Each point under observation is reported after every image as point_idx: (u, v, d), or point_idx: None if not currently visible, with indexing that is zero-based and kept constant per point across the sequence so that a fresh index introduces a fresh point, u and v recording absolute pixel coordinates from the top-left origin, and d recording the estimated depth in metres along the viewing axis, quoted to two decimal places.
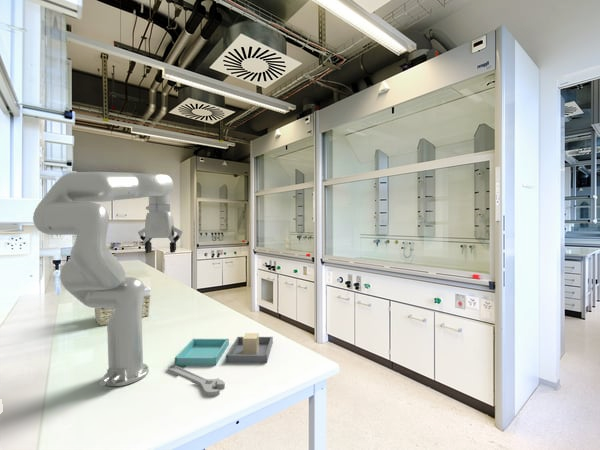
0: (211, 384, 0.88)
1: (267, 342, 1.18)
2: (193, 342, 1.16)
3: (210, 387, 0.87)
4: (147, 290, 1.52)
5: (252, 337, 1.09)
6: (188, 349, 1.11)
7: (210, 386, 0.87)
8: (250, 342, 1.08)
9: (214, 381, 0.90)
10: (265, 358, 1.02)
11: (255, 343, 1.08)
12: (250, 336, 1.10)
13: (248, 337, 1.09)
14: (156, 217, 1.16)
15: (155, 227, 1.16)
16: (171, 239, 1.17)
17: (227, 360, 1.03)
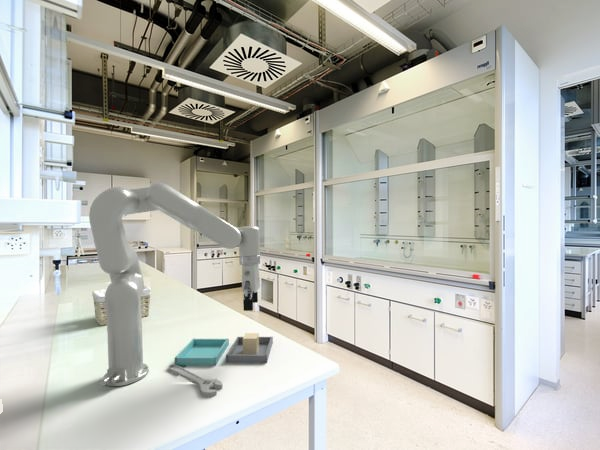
0: (209, 384, 0.88)
1: (267, 342, 1.18)
2: (193, 342, 1.16)
3: (207, 387, 0.87)
4: (147, 290, 1.53)
5: (252, 337, 1.09)
6: (188, 349, 1.11)
7: (207, 386, 0.87)
8: (250, 342, 1.08)
9: (212, 382, 0.90)
10: (265, 358, 1.02)
11: (255, 343, 1.08)
12: (250, 336, 1.10)
13: (248, 337, 1.09)
14: (257, 268, 1.10)
15: (257, 278, 1.10)
16: None
17: (227, 360, 1.03)
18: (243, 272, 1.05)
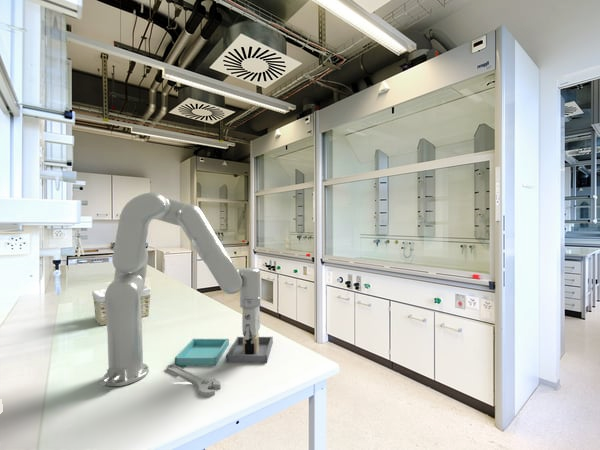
0: (207, 384, 0.88)
1: (267, 342, 1.18)
2: (193, 342, 1.16)
3: (206, 387, 0.87)
4: (147, 290, 1.53)
5: None
6: (188, 349, 1.11)
7: (206, 386, 0.87)
8: None
9: (210, 382, 0.90)
10: (265, 358, 1.02)
11: (255, 343, 1.08)
12: None
13: None
14: (258, 310, 1.10)
15: (258, 320, 1.10)
16: None
17: (227, 360, 1.03)
18: (243, 315, 1.06)
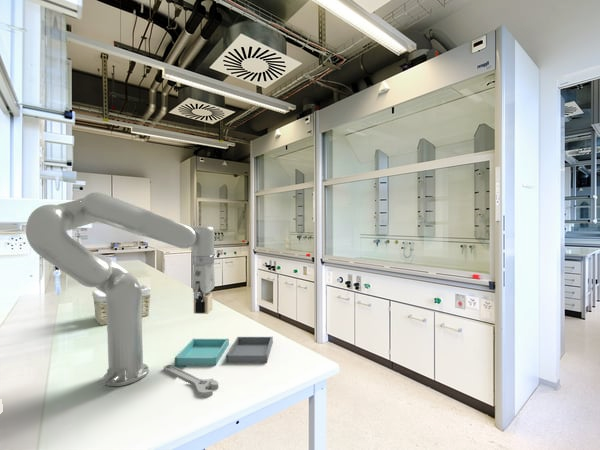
0: (205, 384, 0.88)
1: (267, 342, 1.18)
2: (193, 342, 1.16)
3: (203, 388, 0.87)
4: (147, 290, 1.53)
5: (204, 295, 1.07)
6: (188, 349, 1.11)
7: (203, 386, 0.87)
8: None
9: (208, 382, 0.90)
10: (265, 358, 1.02)
11: (206, 301, 1.06)
12: None
13: None
14: (210, 268, 1.08)
15: (210, 279, 1.08)
16: None
17: (227, 360, 1.03)
18: (194, 272, 1.04)
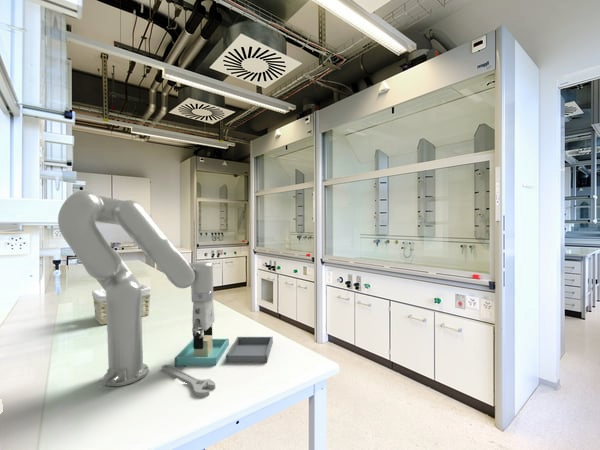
0: (202, 384, 0.88)
1: (267, 342, 1.18)
2: (193, 342, 1.16)
3: (200, 388, 0.86)
4: (147, 289, 1.54)
5: (204, 339, 1.08)
6: (188, 349, 1.11)
7: (200, 386, 0.87)
8: None
9: (205, 382, 0.90)
10: (265, 358, 1.02)
11: (206, 345, 1.06)
12: None
13: None
14: (210, 304, 1.09)
15: (210, 315, 1.08)
16: None
17: (227, 360, 1.03)
18: (194, 310, 1.04)
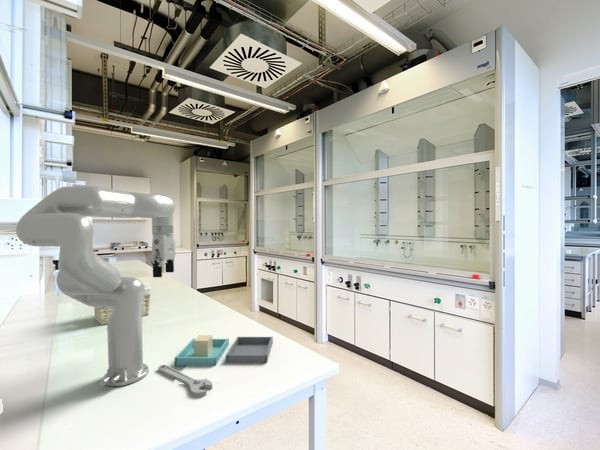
0: (199, 384, 0.88)
1: (267, 342, 1.18)
2: (193, 342, 1.16)
3: (197, 388, 0.86)
4: (147, 289, 1.54)
5: (204, 339, 1.08)
6: (188, 349, 1.11)
7: (197, 386, 0.87)
8: (201, 344, 1.07)
9: (202, 382, 0.90)
10: (265, 358, 1.02)
11: (206, 345, 1.06)
12: (201, 338, 1.08)
13: (200, 339, 1.07)
14: (170, 238, 1.16)
15: (170, 248, 1.16)
16: (172, 259, 1.22)
17: (227, 360, 1.03)
18: (153, 241, 1.12)
